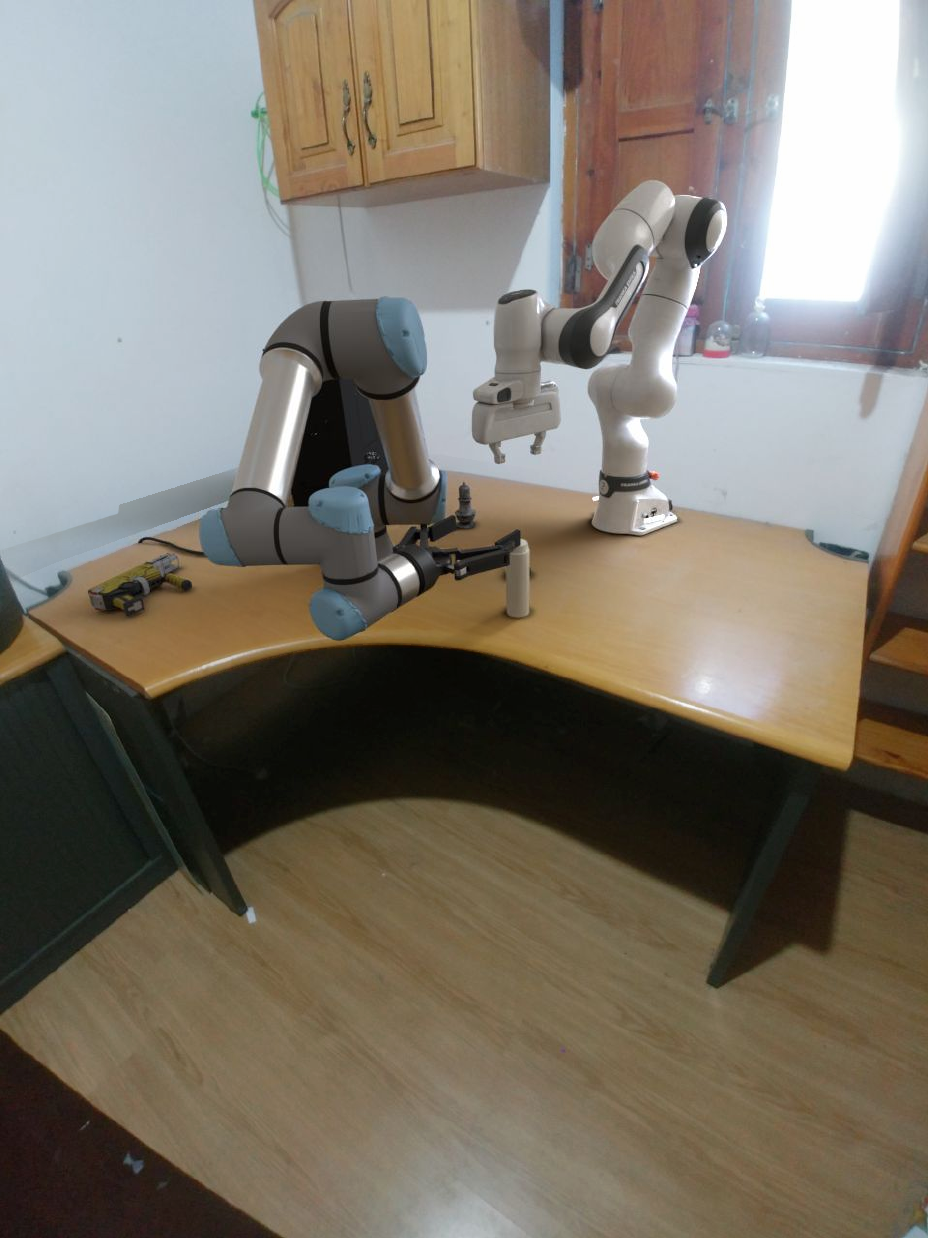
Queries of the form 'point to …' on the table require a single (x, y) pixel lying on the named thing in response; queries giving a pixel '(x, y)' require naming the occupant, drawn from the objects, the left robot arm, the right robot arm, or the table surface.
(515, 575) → the jar
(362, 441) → the black computer case
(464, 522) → the grey chess piece
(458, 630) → the table surface
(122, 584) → the toy gun
